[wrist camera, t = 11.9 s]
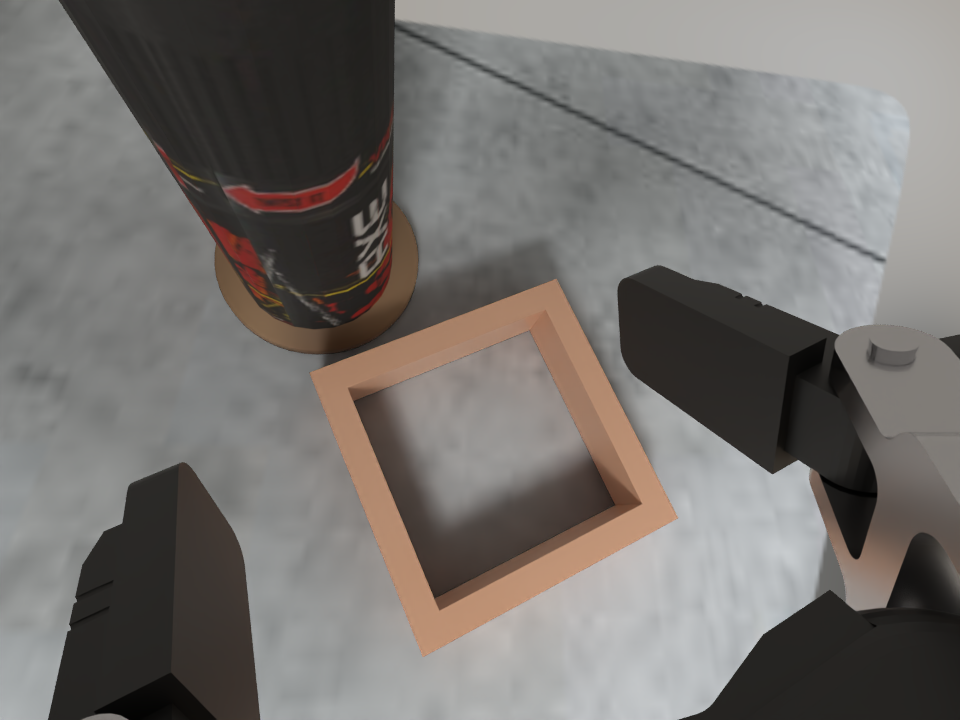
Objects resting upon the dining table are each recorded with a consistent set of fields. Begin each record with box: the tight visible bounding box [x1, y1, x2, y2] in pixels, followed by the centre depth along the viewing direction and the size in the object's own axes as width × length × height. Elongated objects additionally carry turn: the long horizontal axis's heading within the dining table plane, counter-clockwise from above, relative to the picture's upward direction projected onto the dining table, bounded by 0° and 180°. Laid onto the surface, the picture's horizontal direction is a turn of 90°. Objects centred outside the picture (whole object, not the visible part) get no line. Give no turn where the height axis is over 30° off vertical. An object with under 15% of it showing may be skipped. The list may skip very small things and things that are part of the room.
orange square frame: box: [310, 279, 678, 657], centre depth 21 cm, size 10×10×2 cm
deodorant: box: [59, 0, 395, 329], centre depth 15 cm, size 6×6×15 cm
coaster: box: [215, 201, 418, 354], centre depth 23 cm, size 8×8×1 cm
